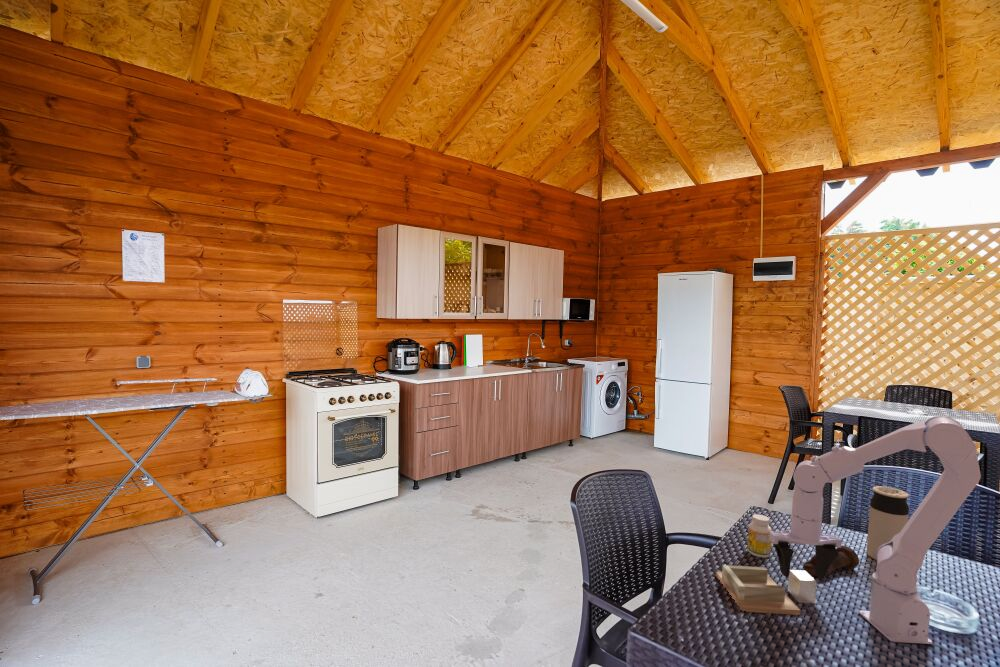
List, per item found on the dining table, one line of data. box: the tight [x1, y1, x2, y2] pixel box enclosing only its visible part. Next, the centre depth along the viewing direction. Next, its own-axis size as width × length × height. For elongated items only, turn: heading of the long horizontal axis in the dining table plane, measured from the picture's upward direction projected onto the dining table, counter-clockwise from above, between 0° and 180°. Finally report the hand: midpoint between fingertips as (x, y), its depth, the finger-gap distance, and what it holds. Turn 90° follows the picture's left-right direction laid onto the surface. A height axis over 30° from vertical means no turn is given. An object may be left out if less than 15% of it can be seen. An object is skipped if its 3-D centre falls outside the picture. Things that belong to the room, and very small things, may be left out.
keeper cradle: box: [715, 564, 802, 616], centre depth 112 cm, size 14×12×4 cm
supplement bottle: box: [747, 513, 773, 559], centre depth 131 cm, size 5×5×10 cm
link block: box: [787, 569, 818, 604], centre depth 111 cm, size 4×4×5 cm
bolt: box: [802, 544, 860, 578], centre depth 123 cm, size 6×5×15 cm
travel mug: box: [866, 485, 910, 561], centre depth 131 cm, size 8×8×18 cm
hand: (802, 575), depth 111 cm, fingers open, 7 cm apart
